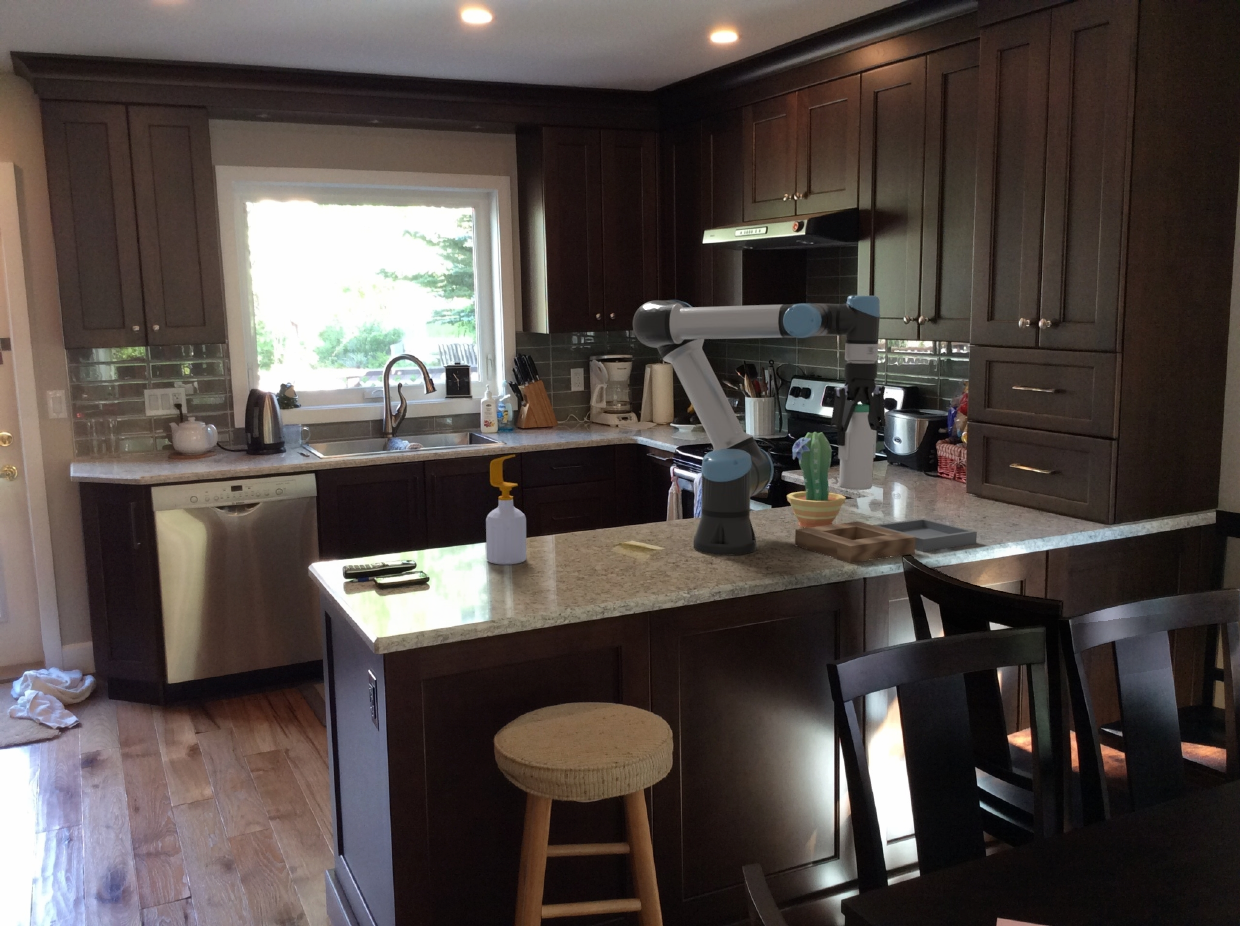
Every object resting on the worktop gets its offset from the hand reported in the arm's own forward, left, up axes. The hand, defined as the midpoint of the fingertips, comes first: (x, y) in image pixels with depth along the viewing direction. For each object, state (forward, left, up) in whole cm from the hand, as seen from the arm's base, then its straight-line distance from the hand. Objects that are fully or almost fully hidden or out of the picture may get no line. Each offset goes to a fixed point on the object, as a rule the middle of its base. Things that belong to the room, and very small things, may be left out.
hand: (856, 457), depth 251 cm
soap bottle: (-78, +29, -22) cm, 86 cm away
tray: (+22, -1, -22) cm, 31 cm away
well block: (0, 0, -22) cm, 22 cm away
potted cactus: (+9, +25, -22) cm, 35 cm away
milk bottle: (0, 0, -7) cm, 7 cm away
